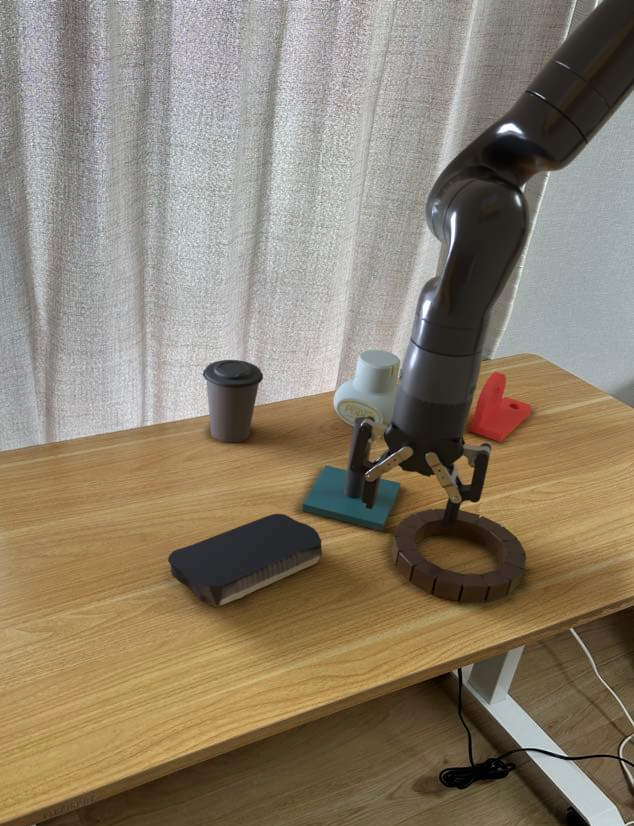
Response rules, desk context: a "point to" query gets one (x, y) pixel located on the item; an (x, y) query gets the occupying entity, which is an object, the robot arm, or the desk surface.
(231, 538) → the black board eraser
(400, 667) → the desk surface
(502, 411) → the bracket
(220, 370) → the coffee cup
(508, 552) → the ring
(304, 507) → the post stand
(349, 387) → the air freshener
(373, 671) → the desk surface
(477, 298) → the robot arm
